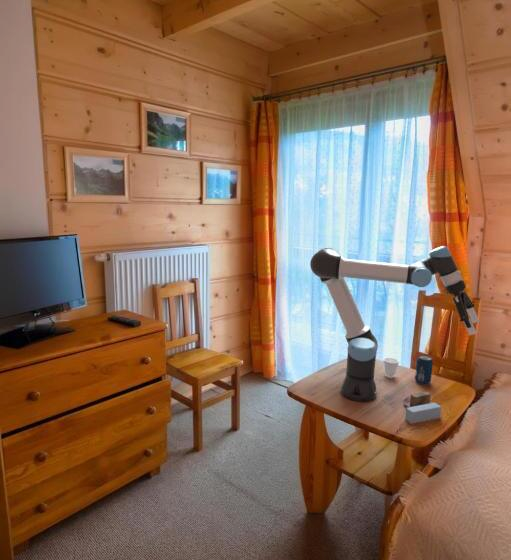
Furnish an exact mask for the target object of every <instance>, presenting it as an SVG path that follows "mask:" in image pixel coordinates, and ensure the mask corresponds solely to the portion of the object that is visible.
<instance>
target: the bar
mask: <svg viewBox="0 0 511 560" xmlns="http://www.w3.org/2000/svg"><path fill="white" fill-rule="evenodd" d="M441 414H442V405H440V404H438V403H436V402H430V403H429V404H424V405H419V406H414V407H409V408H406V407H405V418H404V420H405V419H407V420H408V421H409V422H411V423H414V422H418V423H422V422H421V421H423V422H426V421H425V420H428V421H431V420H430V419H432V420H436V418H437V419H440V418H441ZM407 420H406V421H407ZM408 421H407V422H408ZM409 422H408V423H409ZM411 423H410V424H411ZM414 424H415V423H414Z"/></svg>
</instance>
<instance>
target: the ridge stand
mask: <svg viewBox="0 0 511 560" xmlns="http://www.w3.org/2000/svg"><path fill="white" fill-rule="evenodd" d="M431 396H432V395H431V393H430V392H427V391H421V392H417V393H413V394H412V393H411V394H410V402H406V403H403V407H404V406H405V407H404V408H405V409H406V408H409V407H414V406H419V405H424V404H429V403H431Z"/></svg>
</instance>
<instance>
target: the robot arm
mask: <svg viewBox="0 0 511 560" xmlns="http://www.w3.org/2000/svg"><path fill="white" fill-rule="evenodd" d="M428 255H429V256H428V257H426V258H425V259H422V260H419V261H416V262H415V263H411V264H409V265H408V264H400V263H399V264H398V263H389V262H382V261H381V262H380V261H379V262H378V261H368V260H359V259H349V258H344V256H342V255H341V254H340V252H339V251H337V250H336V249H334V248H332V247H325V248H322V249H320V250H318V251H317V252H316V253H314V255H313V256H312V257H311V259H310V262H309V266H310V269H311V272H312V273H313V274H314V275H315V276H317V277H318V278H319V279H320V282H321V283H323V284H325V285H326V286H327V287H326V288H327V289H328V291H329V295H330V297H331V299H332V301H333V303H334V305H335V308H336V310H337V313H338V315H339V317H340V319H341V322H342V325H343V326H344V329H345V331H346V333H345V335H344V337H345V339H346V342H347V358H346V359H347V360H346V370H345V376H344V379H343V382H342V384H341V387H340V394H341V395H342V396H343V397H344V398H346V399H348V400H350V401H353V402H359V403H360V402H362V403H363V402H372V401H374V400H375V399H376V398H377V397H378V396H377V395H378V391H377V390H378V389H377V387H376V383H375V370H376V369H375V368H376V359H377V352H378V347H379V346H378V340H377V337H375V335H374V334H373V332H372V330H371V328H370V327H369V326H368V325H365V323H364V321H363V318H362V316H361V314H360V311H359V309H358V307H357V304H356V301H355V300H354V297H353V295H352V293H351V290H350V288H349V285H348V283H347V281H346V278H351V279H358V280H366V281H367V280H368V281H377V282H378V281H379V282H388V283H396V284H405V285H413V286H415V287H418V288H426V287H428V286H429V285H430V283H431V282H432V279H433V276H434V275H436V274H438V275H439V278H440V280H441V282H442V284H443V285H444V289H445V291H446V293H447V294H448V295H453V298H452V299H453V301H454V302H453V303H454V304H455V306H456V307H455V308H456V311H457V313H458V317H459V318H460V320H459V321H460V323H462V322H463V324H464V327H465V328H466V331H467V333H468V335H469V336H473V335H475V334H477V330H476V329H475V327H474V324H475V323H479V322H480V319H479V316H478V314H477V313H476V310H475V308H474V307H475V304H474V303H473V301H472V300H471V299H470V297H469V296H468V294H467V292H466V291H465V289H466V287H467V286H466V284H465V281H464V279H462V277H463V276H462V275H461V273H462V271H459V269H458V266H457V264H456V263H455V260H454V257H453V256H452V254H451V251H450V250H449V248H448V247H447V246H446V245H442V246H438V247H436V248H434V249H432V250H430V251H429V253H428Z"/></svg>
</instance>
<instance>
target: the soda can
mask: <svg viewBox="0 0 511 560" xmlns="http://www.w3.org/2000/svg"><path fill="white" fill-rule="evenodd" d="M433 364H434V362H433V358H432V356H430V355H429V356H428V355H418V357H417V359H416V364H415V366H416V367H415V373H414V374H415V375H414V380H415V382H416V383H417V384H419V385H426V386H427V385H429V384H430V383H431V381H432V374H433V373H432V372H433V366H434V365H433Z"/></svg>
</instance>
